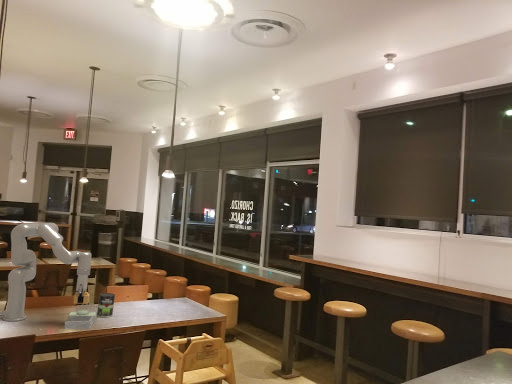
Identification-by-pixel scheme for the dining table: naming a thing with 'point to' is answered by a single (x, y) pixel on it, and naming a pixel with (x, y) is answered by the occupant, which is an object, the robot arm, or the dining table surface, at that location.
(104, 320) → the dining table surface
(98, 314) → the coffee can
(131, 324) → the dining table surface
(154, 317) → the dining table surface
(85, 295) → the chute block
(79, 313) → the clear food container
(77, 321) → the clear square container
